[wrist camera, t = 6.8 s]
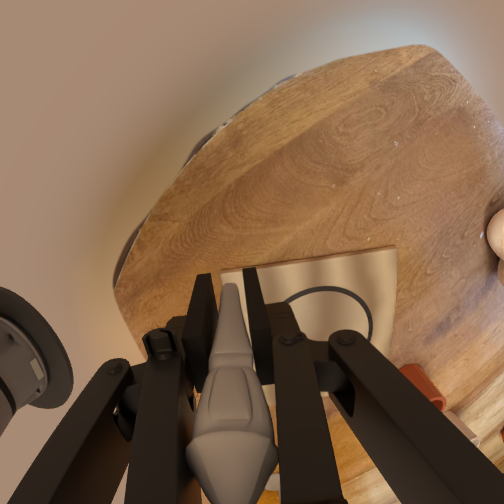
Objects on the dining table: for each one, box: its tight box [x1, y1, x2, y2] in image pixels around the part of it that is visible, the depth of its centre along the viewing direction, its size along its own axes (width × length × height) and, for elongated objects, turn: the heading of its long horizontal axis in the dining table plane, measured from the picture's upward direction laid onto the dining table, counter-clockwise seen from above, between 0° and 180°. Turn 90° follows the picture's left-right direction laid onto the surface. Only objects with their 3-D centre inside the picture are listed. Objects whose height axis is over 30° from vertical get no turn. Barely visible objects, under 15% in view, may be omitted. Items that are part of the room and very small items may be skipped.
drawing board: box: [220, 246, 398, 406], centre depth 35 cm, size 20×20×1 cm
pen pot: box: [399, 364, 446, 412], centre depth 36 cm, size 6×6×8 cm
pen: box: [185, 283, 279, 504], centre depth 11 cm, size 2×3×14 cm
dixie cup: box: [443, 411, 481, 448], centre depth 40 cm, size 8×8×10 cm
